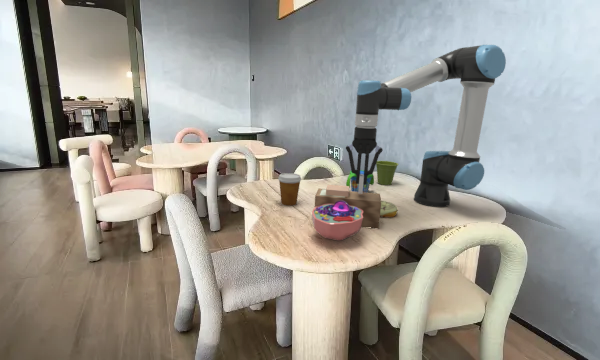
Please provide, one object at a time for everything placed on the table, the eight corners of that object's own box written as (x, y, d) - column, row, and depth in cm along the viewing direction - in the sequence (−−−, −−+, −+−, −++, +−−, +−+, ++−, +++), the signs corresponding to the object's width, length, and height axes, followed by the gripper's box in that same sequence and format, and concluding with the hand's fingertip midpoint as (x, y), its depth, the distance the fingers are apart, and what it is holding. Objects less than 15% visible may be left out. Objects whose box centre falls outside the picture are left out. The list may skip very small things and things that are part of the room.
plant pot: (398, 187, 179) (401, 165, 176) (375, 186, 179) (377, 164, 176) (393, 181, 190) (395, 161, 187) (371, 180, 190) (373, 160, 187)
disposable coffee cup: (303, 202, 148) (305, 174, 145) (294, 208, 140) (295, 179, 137) (284, 198, 152) (284, 171, 149) (273, 204, 144) (274, 176, 141)
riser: (377, 218, 132) (380, 193, 130) (378, 228, 123) (381, 201, 120) (317, 213, 136) (318, 187, 133) (313, 222, 126) (315, 195, 124)
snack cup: (366, 188, 173) (367, 168, 171) (379, 194, 164) (381, 173, 162) (339, 191, 167) (341, 170, 164) (352, 197, 157) (353, 175, 155)
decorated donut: (382, 220, 131) (383, 210, 130) (361, 211, 141) (361, 201, 140) (402, 215, 138) (403, 205, 137) (380, 206, 147) (381, 197, 146)
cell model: (298, 239, 111) (299, 205, 108) (327, 221, 128) (329, 191, 125) (346, 254, 103) (349, 218, 100) (371, 232, 119) (374, 201, 116)
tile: (349, 186, 130) (327, 184, 131) (348, 191, 123) (326, 189, 124) (348, 191, 130) (327, 189, 131) (348, 196, 123) (325, 194, 125)
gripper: (346, 126, 118) (341, 193, 123) (385, 129, 115) (379, 197, 121) (347, 124, 125) (342, 188, 131) (384, 126, 123) (378, 191, 129)
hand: (360, 192), depth 126 cm, fingers closed
